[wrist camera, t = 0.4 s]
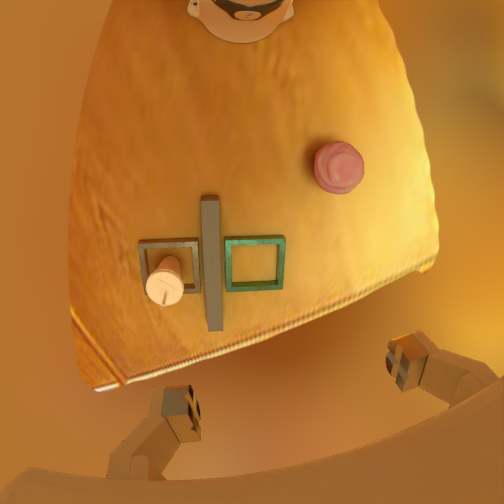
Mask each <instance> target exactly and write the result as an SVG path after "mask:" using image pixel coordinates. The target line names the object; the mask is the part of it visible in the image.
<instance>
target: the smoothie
mask: <svg viewBox="0 0 504 504" xmlns="http://www.w3.org/2000/svg"><path fill="white" fill-rule="evenodd" d="M146 291H147V294H148V296H149V297H150V298H151V299H152V300H153V301H154V302H156V303H158V304H161V306H162V307H165V305H172V304H174V303H176V302H178V301H179V300H180V299H181V297H182V295H183V291H184V284H183V281H182V279H181V268H180V262H179V260H178V259H177V258H176V257H174V256H167V257H165V258H164V259H163V260H162V262H161V263H160V264H159V266H158V267H157V269H156V270H155V271H154V272H153V273H152V274H150V276H149V277H148V279H147V283H146Z"/></svg>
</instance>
